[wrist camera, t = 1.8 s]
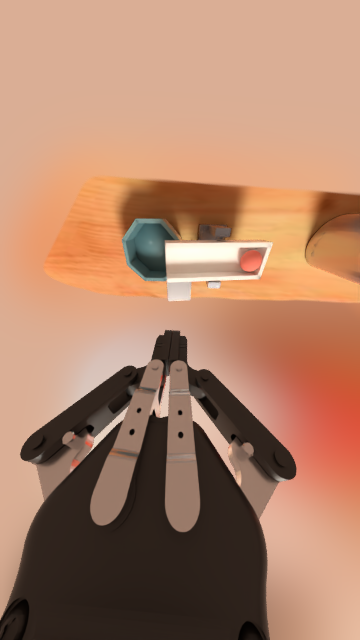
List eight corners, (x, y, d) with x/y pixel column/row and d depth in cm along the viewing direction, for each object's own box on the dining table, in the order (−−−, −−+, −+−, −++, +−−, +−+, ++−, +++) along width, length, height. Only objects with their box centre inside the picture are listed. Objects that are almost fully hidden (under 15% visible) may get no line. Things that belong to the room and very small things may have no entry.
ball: (259, 248, 21) (269, 252, 19) (252, 268, 23) (261, 274, 21) (240, 248, 21) (247, 252, 19) (235, 268, 23) (241, 274, 21)
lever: (250, 237, 24) (273, 242, 19) (237, 287, 29) (252, 300, 25) (164, 238, 22) (165, 243, 18) (166, 290, 28) (168, 305, 23)
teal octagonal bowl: (181, 219, 26) (180, 219, 22) (181, 273, 32) (180, 281, 28) (129, 218, 26) (117, 218, 22) (138, 272, 32) (130, 280, 28)
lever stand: (225, 224, 26) (243, 227, 18) (217, 270, 31) (228, 289, 23) (199, 224, 26) (204, 226, 18) (195, 269, 32) (198, 288, 23)
